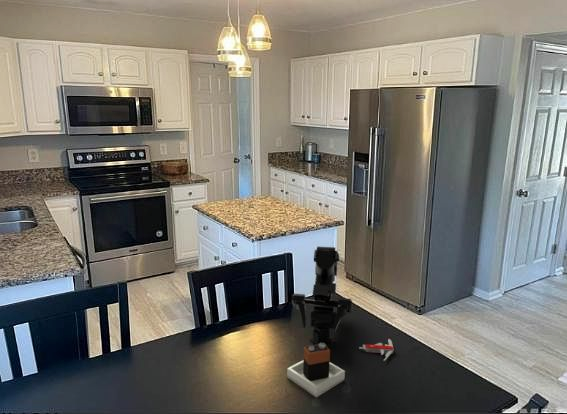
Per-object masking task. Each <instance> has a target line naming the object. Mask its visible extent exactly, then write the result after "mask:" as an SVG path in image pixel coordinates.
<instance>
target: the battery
mask: <svg viewBox="0 0 567 414" xmlns="http://www.w3.org/2000/svg"><path fill="white" fill-rule="evenodd" d="M330 357H331V350H330V349H329V347H328V346H326V345H325V343H319V344H312V345H307V346H304V347H303V360H304V362H303V374H304V375H305V377H306V379H308V380H309V381H314V380H319V379H323V378H328V377H329V364H330V361H331V360H330V359H331V358H330Z"/></svg>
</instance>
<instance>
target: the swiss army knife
mask: <svg viewBox="0 0 567 414" xmlns="http://www.w3.org/2000/svg"><path fill="white" fill-rule="evenodd" d="M387 342H388V344H386V343H385V344H384V345H383V343H382V342H378V343H376V344H362V347H361V346H359V347H358V349H361V350H364V351H365V352H366V353H373V354H375V353H379V354H380V355H381V356H383V355H384V354H385V355H384V357H385V358H384V359H383V361H384V362H385V361H386V360H387V359H388V358H389V356H391V354H394V350H395V349H394V345H393V342H392V340H391V339H390V338H388V340H387Z"/></svg>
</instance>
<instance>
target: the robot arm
mask: <svg viewBox="0 0 567 414" xmlns="http://www.w3.org/2000/svg"><path fill="white" fill-rule="evenodd" d="M313 254H314V255H313V262H314V263H315V273H314V274H315V282H314V283H315V284H313V286H312V287H313V288H312V295H311V296H312V298H308V297H306V295H305V293H304V294H303V293H296V292H295V293H293V294H292V296H291V304H292V307H293V308H296V309H295V310H297V311H300V315H301V321H302V327H303V330H304V329H306V324H307V319H306V318H307V308H306V306H307V305H309V306H310V305H311V306H313V308H312V309H311V311H310V328H313V330H312V337H311V338H310V339H309V341H310V342H311V343H313V344H314V345H317V344H319V343H325V345H326V346H327V347H328V346H330V345H331V344H333V343H335V342H336V339H334V338H333V333H336V331H337V329H338V326H339V324H340V322H341V321H342V319H343V317H344V316H347V315H348V314H352V309H353V300H352V299H351V298H345V297H339V298H338V300H337V301H336V300H334V299H333V300H332V297H333V294H334V295H335V294H336V292H337V291H336V290H337V283H336V282H335V279H336V278H335V277H337V276H338V275H337V274H338V262H340V254H339V252H338V250H336V247H333V246H317V247H316V249H314V253H313ZM334 282H335V283H334ZM335 308H336V311H335Z"/></svg>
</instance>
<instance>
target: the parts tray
mask: <svg viewBox="0 0 567 414" xmlns="http://www.w3.org/2000/svg"><path fill="white" fill-rule="evenodd" d="M303 362H304V359H303V360H301V361H299V362H297V363H295V364H293V365H291V366H290V367H287V368H286V369H287V371H286V372H287V373H286V377H287V378H288V379H289V380H290V381H292V382H293V383H295V384H296V385H297V386H299V387H301V388H302V389H303V390H305V391H306V392H308V393H309V394H311V396H313V397H315V398H318V397H320V396H321V395H322V394H324V393H326V392H327V391H329V390H330V389H332V388H334V387H335V386H337V385H339V384H341V383H342V382H344V381H345V376H346V375H345V374H346V371H345V370H344V369H342V368H340V367H339V366H338V365H335V364H334V363H332V362H330V364H329V377H328V378H323V379H319V380H314V381H309V380H308V379H306V377H305V375H304V374H303Z"/></svg>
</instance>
